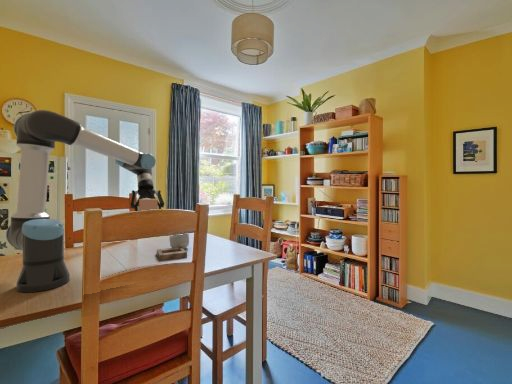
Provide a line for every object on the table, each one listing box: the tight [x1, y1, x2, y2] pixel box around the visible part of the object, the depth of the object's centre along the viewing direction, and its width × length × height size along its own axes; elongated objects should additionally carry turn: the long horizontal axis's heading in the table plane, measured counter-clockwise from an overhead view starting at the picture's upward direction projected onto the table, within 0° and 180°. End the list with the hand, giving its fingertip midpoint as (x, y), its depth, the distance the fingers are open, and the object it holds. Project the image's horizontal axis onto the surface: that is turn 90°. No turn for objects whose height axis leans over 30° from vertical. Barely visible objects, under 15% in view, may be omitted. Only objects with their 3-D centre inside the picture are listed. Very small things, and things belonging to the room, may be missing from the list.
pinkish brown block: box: [138, 198, 158, 211], centre depth 127 cm, size 8×4×15 cm, turn 118°
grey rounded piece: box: [169, 233, 190, 250], centre depth 150 cm, size 14×11×8 cm
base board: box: [156, 247, 188, 261], centre depth 134 cm, size 13×12×2 cm
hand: (149, 218), depth 124 cm, fingers closed on pinkish brown block, 8 cm apart
